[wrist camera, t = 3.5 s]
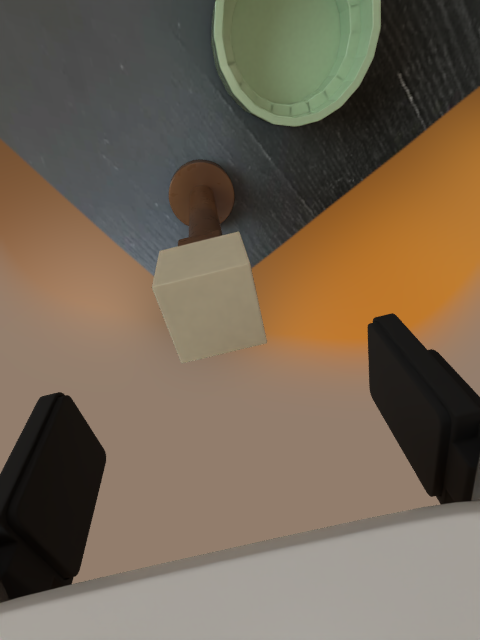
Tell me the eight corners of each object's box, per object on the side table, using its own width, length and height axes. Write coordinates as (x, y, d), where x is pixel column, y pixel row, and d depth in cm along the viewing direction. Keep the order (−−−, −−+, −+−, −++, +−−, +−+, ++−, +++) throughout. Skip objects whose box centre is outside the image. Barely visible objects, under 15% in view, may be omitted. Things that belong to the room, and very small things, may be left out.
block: (183, 318, 20) (181, 364, 17) (159, 250, 18) (151, 287, 15) (254, 301, 20) (267, 343, 17) (238, 231, 18) (249, 262, 15)
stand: (180, 231, 37) (170, 337, 21) (160, 168, 34) (131, 236, 17) (238, 216, 37) (275, 312, 21) (224, 152, 33) (255, 205, 17)
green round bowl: (229, 136, 33) (235, 142, 29) (193, -39, 27) (193, -64, 22) (357, 103, 33) (381, 105, 28) (350, -79, 26) (380, -113, 22)
